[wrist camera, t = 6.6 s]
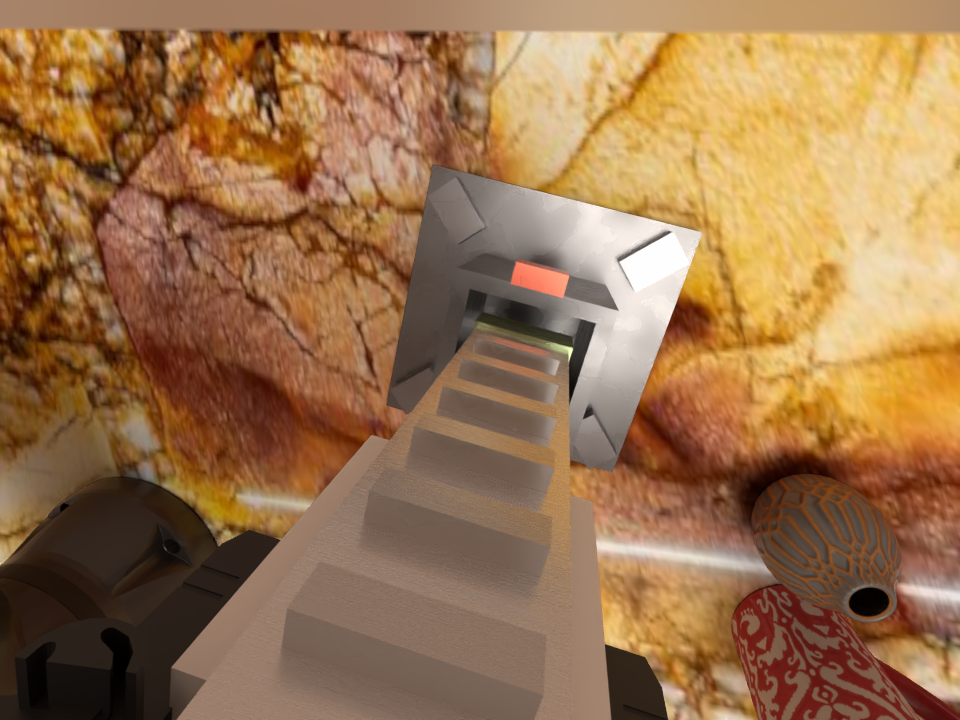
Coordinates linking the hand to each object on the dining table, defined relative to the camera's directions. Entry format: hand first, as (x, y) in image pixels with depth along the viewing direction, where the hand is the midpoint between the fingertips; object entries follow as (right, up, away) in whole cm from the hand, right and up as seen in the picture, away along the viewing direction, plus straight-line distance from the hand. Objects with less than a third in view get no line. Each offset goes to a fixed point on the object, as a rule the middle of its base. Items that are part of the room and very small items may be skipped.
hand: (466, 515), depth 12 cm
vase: (+21, -6, +21) cm, 30 cm away
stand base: (+4, +6, +20) cm, 21 cm away
